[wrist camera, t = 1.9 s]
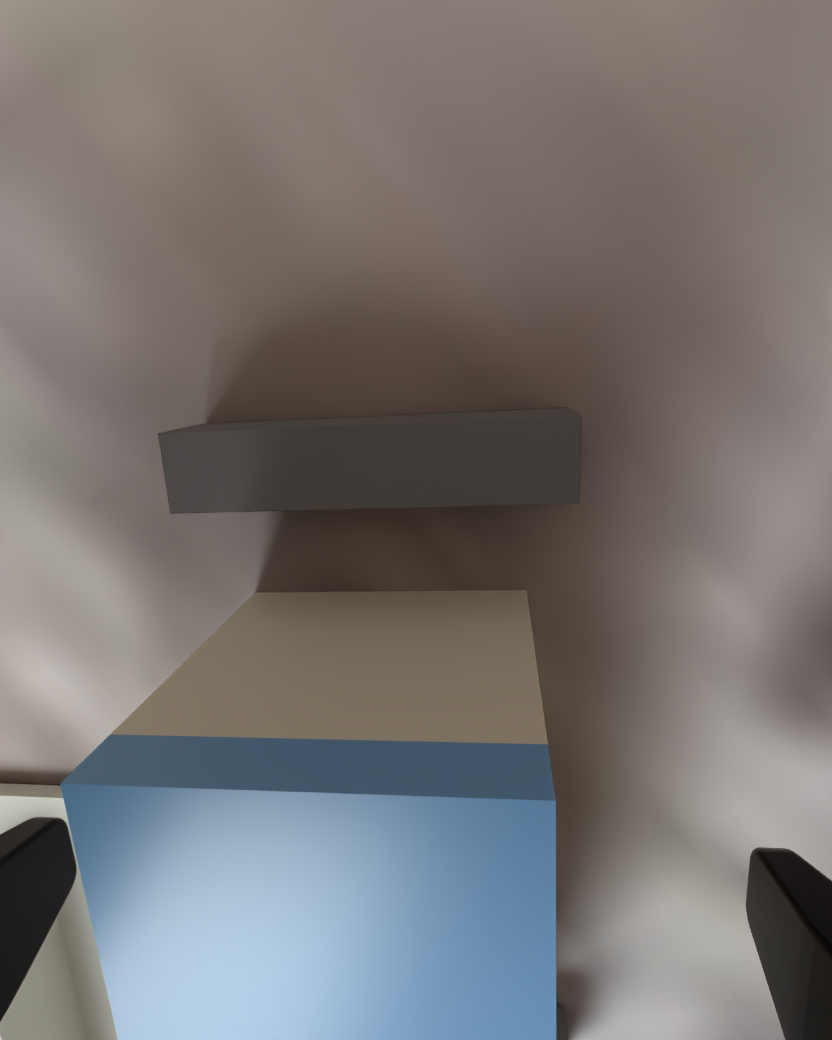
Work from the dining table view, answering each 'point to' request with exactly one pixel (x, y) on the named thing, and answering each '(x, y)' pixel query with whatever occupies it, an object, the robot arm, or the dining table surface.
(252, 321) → the dining table surface
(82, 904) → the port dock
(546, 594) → the dining table surface
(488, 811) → the plug
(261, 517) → the dining table surface
